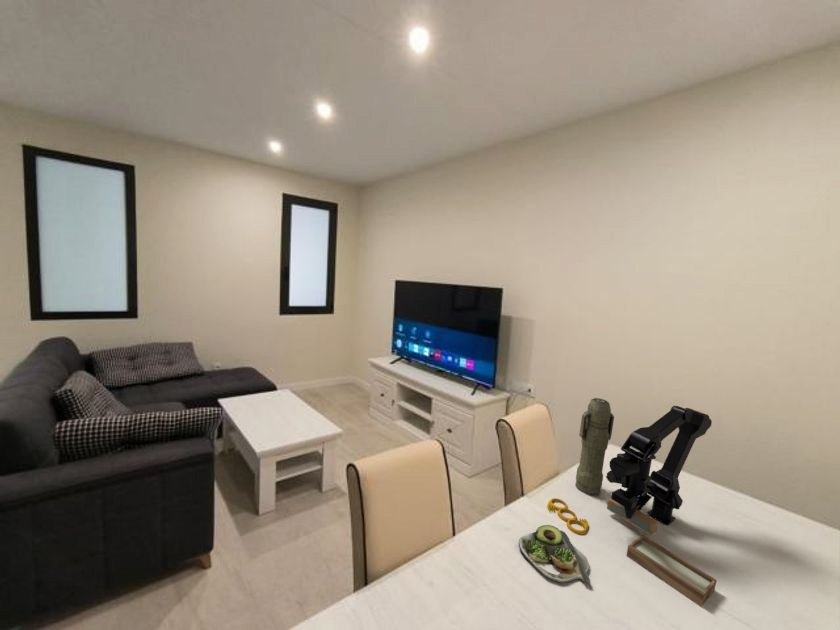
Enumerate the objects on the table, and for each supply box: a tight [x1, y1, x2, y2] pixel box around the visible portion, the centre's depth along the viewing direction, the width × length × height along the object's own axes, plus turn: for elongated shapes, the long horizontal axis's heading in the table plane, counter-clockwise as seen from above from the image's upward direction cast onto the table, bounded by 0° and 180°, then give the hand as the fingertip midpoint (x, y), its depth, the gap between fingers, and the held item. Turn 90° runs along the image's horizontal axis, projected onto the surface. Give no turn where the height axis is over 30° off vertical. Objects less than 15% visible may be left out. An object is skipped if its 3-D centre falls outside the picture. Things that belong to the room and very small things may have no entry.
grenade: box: [575, 397, 615, 496], centre depth 133 cm, size 9×12×35 cm
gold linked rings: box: [546, 497, 589, 536], centre depth 118 cm, size 17×2×10 cm
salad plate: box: [518, 524, 591, 584], centre depth 99 cm, size 19×18×5 cm
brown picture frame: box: [626, 534, 718, 607], centre depth 98 cm, size 9×18×3 cm, turn 34°
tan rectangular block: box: [606, 497, 660, 536], centre depth 115 cm, size 4×14×4 cm, turn 34°
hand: (631, 516), depth 115 cm, fingers closed on tan rectangular block, 4 cm apart
